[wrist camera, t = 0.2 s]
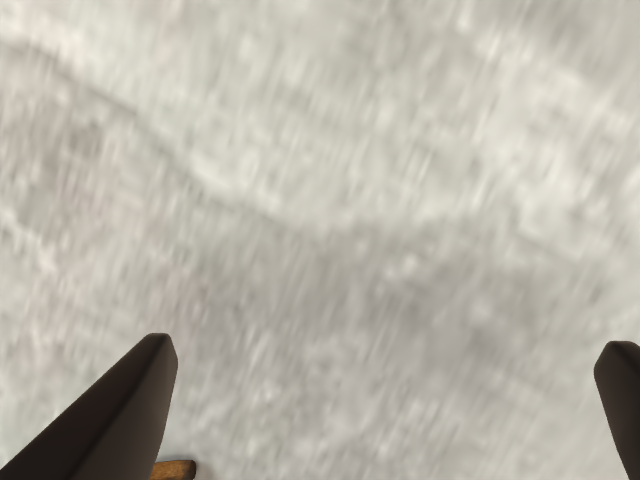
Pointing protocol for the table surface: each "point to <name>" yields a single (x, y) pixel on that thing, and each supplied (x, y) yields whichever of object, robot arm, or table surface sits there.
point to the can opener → (174, 470)
